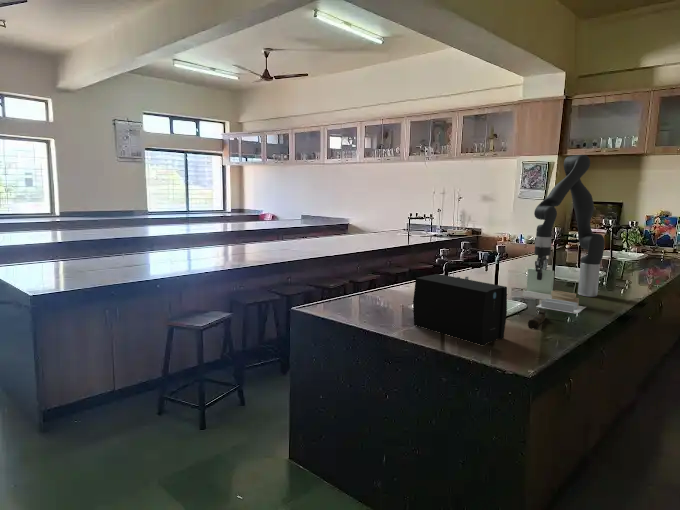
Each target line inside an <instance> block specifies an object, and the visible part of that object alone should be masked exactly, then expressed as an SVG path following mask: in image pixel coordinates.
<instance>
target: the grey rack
mask: <svg viewBox="0 0 680 510" xmlns="http://www.w3.org/2000/svg"><path fill="white" fill-rule="evenodd" d="M535 307H536V308H541V309H545V310H546V309H548V310H553V311H560V312H564V313H571V314H575V315H576V314H579V313H581V312H582V311H583V310H584V309H586V308H587V306H582V305H579V306H578V303H575V302H569V301H563V300H556V299H550V298H546V300H541V303H540V304H538V305H536V306H535Z"/></svg>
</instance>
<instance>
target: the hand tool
mask: <svg viewBox="0 0 680 510" xmlns="http://www.w3.org/2000/svg"><path fill="white" fill-rule="evenodd" d="M545 319H546V309H540V310H538V312H537V314H536V315H535V316H534V317H533V318H531V319H528V323H527V326H528V328H529V329H532V328H534V330H536V329H538V328H539V325H541V324H542V323H544V322H545Z"/></svg>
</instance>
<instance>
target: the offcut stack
mask: <svg viewBox="0 0 680 510" xmlns="http://www.w3.org/2000/svg"><path fill="white" fill-rule="evenodd" d="M551 296H552V299H556V300H563V301H569V302H575V303H578V306H580V305H579V304H580V302H579V301H580V298H579V297H577V293H573V292H568V291H567V292H566V291H561V290H556V289H555V290H554V289H553V291H552V292H551Z"/></svg>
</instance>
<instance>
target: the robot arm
mask: <svg viewBox="0 0 680 510" xmlns="http://www.w3.org/2000/svg"><path fill="white" fill-rule="evenodd" d="M590 166H591V159H590V157H589V156H588V155H587V154H577V155H576V154H575V155H569V156H566V158H564V160H563V169H564V173H565V177H564V178H562V179H561V180H560V181H559V182H558V183H556V184H555V186H554V187H553V188H551V190H550V192H549V193H548V195H547V197H545V198H544V199H543V200H542V201H541V202H540V203H539V204H538V205H537V206H536V207H535V209H534V217H535V218H536V219H537V220H540V221H541V220H542V221H543V223H542V224H538V225H537V226H536V231H535V232H536V234H535V239H534V241H535V242H534V252H533V253H534V255H535V256H537V258H536V260H535V261H534V268H535V269H536V272H537V280H542V272H543V270H548V264H549V258H547V257H550V256H551V251H552V232H553V228H554V225H555V222H556V219H557V216H558V213H557V211H558V210H557V208H556V207H558V206H560V205H561V203H562V202H563V201H564V198H565V197H566V195H567V194H568V193H569V192H570V195H571V199H572V205H573V209H574V214H575V219H576V224H577V233H578V234H577V235H578V244H579V246H580V248H582V249H583V250H587V254H586V255H584V256H581V258H580V266H579V267H580V268H579V275H578V276H579V279H578V287H577V288H578V289H577V294H578V295H579V296H584V297H590V298H591V297H598V290H599V280H600V272H601V262H602V260H603V256H604V252H605V251H604V250H605V245H606V244H605V242H606V241H605V238H604V235H602V234H600V233H596V232H595V233H594V232H593V231H592V227H591V219H592V217H593V214H594V211H595V205H594V199H593V195H592V194H591V192H590V191H589V189H588V188H587V187H586V185H584V183H583V182H582V180H581V178H582V177H583V176H584V175H585V174H586V173H587V171H588V170H589V168H590Z"/></svg>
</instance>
